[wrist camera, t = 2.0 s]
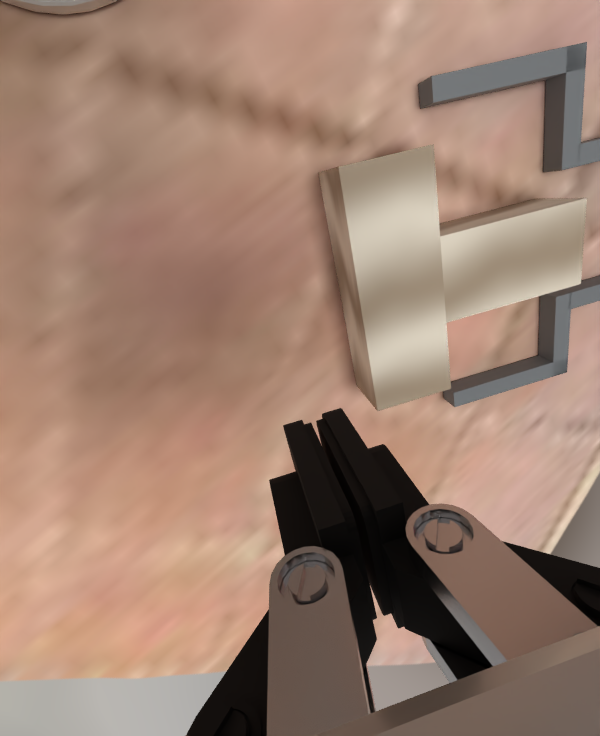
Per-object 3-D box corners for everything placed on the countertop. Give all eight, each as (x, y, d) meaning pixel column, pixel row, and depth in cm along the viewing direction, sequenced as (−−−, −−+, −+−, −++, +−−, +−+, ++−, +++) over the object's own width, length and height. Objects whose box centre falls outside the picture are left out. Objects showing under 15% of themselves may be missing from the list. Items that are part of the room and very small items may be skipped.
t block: (318, 172, 23) (338, 166, 20) (536, 120, 25) (593, 106, 21) (356, 385, 29) (377, 411, 25) (532, 332, 30) (576, 350, 27)
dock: (418, 84, 23) (431, 76, 21) (697, 22, 24) (726, 11, 23) (443, 398, 31) (454, 407, 29) (651, 334, 33) (670, 339, 31)
